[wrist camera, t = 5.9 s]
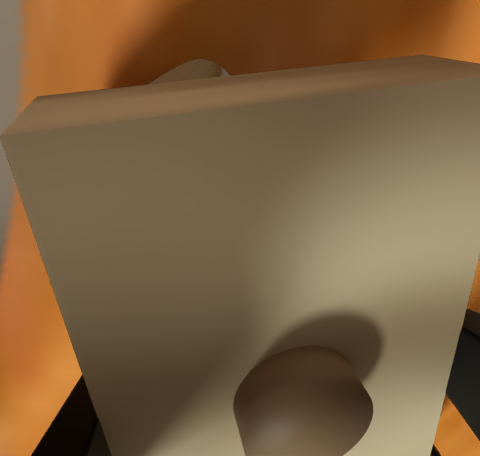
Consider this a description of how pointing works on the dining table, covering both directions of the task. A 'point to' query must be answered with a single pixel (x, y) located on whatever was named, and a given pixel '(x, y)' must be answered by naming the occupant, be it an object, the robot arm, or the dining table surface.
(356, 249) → the lid
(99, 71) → the dining table surface
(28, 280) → the dining table surface
